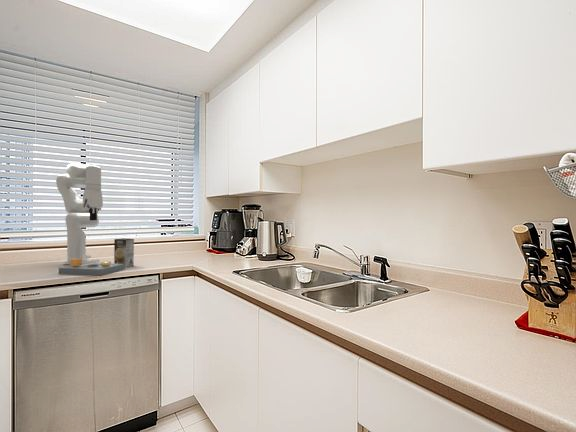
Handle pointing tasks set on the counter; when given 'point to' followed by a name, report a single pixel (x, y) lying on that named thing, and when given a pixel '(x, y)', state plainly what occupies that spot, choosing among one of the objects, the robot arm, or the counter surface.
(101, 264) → the brass button
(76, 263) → the orange slider
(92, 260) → the plate
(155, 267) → the counter surface
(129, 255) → the coffee box
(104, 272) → the switch panel
